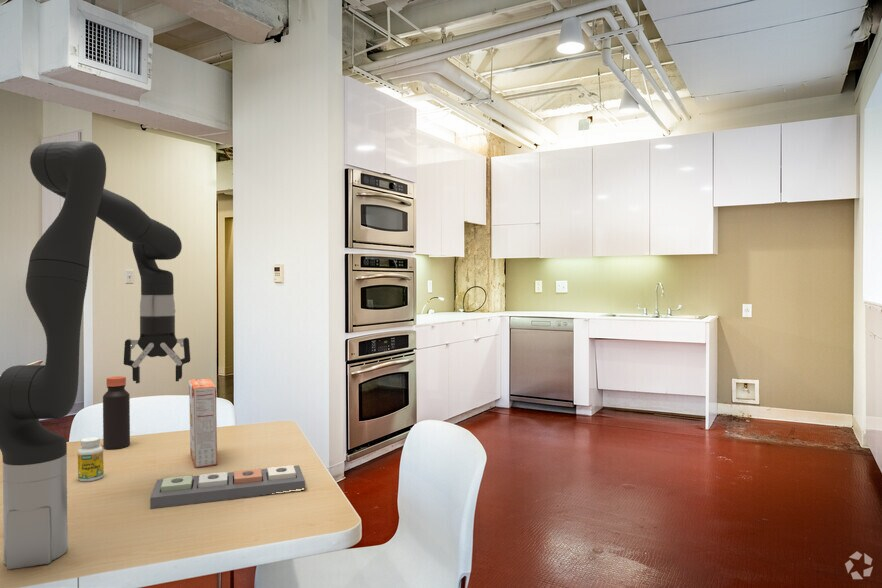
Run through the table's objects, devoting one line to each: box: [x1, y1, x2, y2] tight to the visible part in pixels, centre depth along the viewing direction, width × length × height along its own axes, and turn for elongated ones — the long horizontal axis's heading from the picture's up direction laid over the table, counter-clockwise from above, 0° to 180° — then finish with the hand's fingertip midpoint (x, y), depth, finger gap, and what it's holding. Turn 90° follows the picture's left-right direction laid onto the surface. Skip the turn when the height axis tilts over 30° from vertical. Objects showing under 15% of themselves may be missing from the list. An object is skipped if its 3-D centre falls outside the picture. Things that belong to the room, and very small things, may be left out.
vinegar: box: [102, 375, 131, 450], centre depth 171 cm, size 7×7×20 cm
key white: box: [198, 471, 228, 488], centre depth 134 cm, size 6×6×2 cm
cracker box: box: [188, 378, 218, 469], centre depth 158 cm, size 14×6×21 cm, turn 27°
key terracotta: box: [233, 468, 262, 485], centre depth 137 cm, size 6×6×2 cm
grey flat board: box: [149, 464, 306, 509], centre depth 135 cm, size 12×32×2 cm, turn 110°
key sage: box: [161, 475, 194, 492], centre depth 132 cm, size 6×6×2 cm
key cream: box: [266, 464, 296, 481], centre depth 139 cm, size 6×6×2 cm
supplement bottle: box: [77, 436, 105, 482], centre depth 143 cm, size 5×5×10 cm
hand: (157, 381), depth 141 cm, fingers open, 8 cm apart
